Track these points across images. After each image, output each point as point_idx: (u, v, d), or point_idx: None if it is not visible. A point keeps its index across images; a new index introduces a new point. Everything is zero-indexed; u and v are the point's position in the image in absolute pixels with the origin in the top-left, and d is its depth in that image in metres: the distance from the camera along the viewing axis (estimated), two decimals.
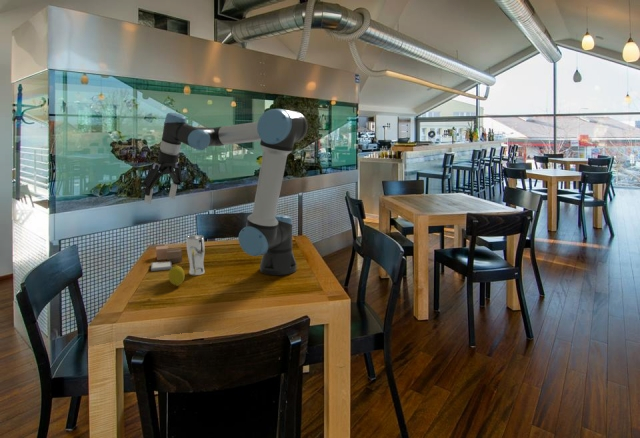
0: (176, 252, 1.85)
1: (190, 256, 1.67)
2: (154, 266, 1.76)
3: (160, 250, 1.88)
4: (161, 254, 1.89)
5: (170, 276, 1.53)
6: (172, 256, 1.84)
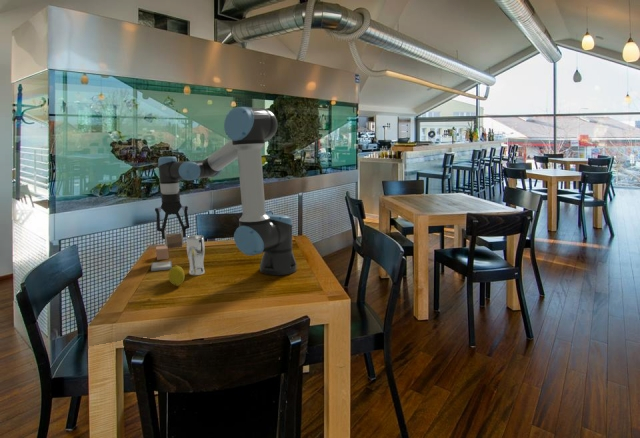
0: (176, 237, 1.83)
1: (190, 256, 1.67)
2: (154, 266, 1.76)
3: (160, 250, 1.88)
4: (161, 254, 1.89)
5: (170, 276, 1.53)
6: (172, 241, 1.83)
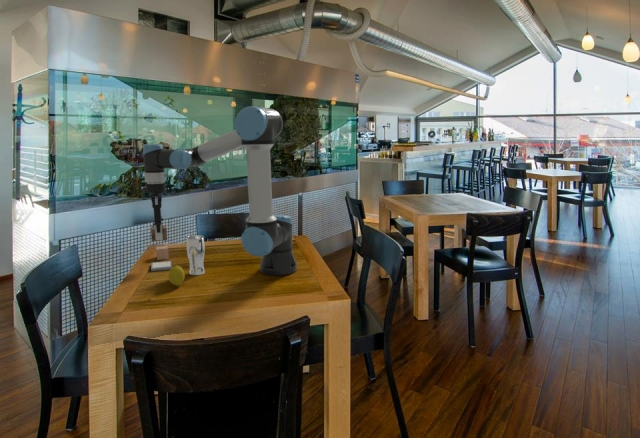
0: (151, 229, 1.74)
1: (190, 256, 1.67)
2: (154, 266, 1.76)
3: (160, 250, 1.88)
4: (161, 254, 1.89)
5: (170, 276, 1.53)
6: None
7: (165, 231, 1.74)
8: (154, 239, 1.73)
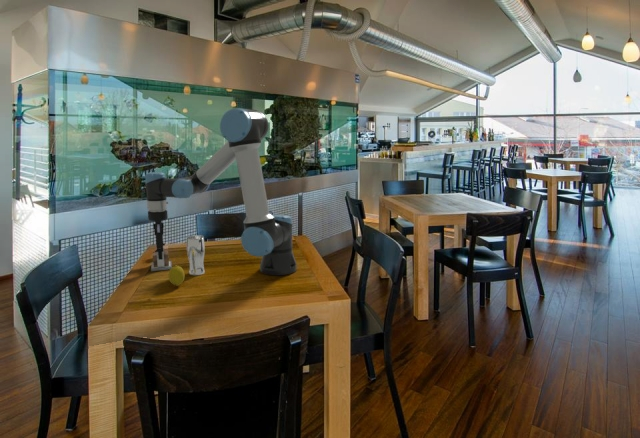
0: (153, 255, 1.76)
1: (190, 256, 1.67)
2: None
3: None
4: None
5: (170, 276, 1.53)
6: None
7: (167, 257, 1.76)
8: (156, 265, 1.75)
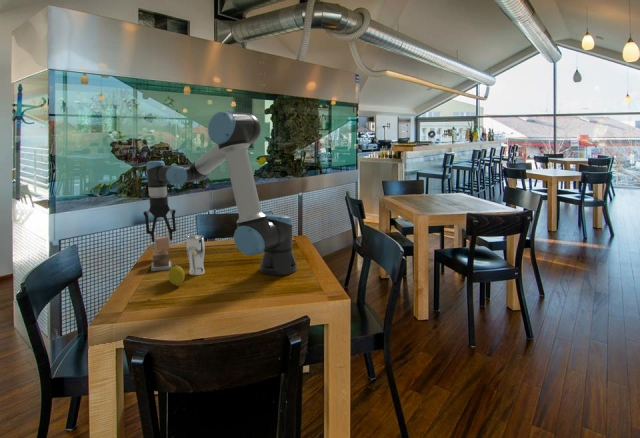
0: (153, 255, 1.76)
1: (190, 256, 1.67)
2: None
3: (160, 240, 1.87)
4: (161, 244, 1.88)
5: (170, 276, 1.53)
6: None
7: (167, 257, 1.76)
8: (156, 265, 1.75)
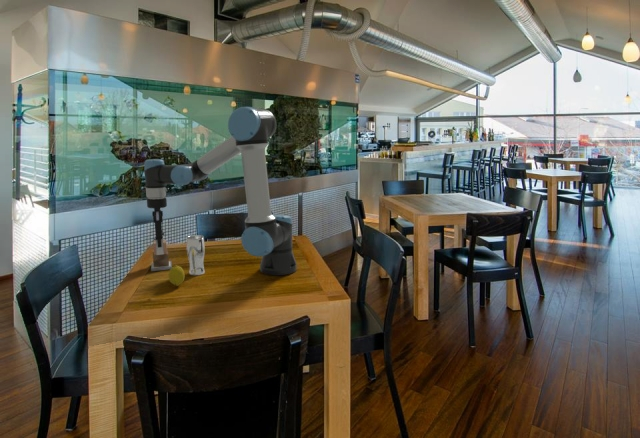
0: (153, 255, 1.76)
1: (190, 256, 1.67)
2: None
3: None
4: None
5: (170, 276, 1.53)
6: None
7: (167, 257, 1.76)
8: (156, 265, 1.75)
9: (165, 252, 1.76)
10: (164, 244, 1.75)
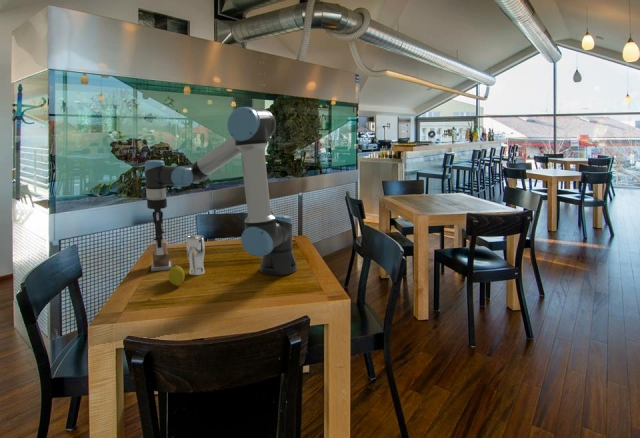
0: (153, 255, 1.75)
1: (190, 256, 1.67)
2: None
3: (153, 242, 1.76)
4: None
5: (170, 276, 1.53)
6: None
7: (167, 257, 1.76)
8: (156, 265, 1.75)
9: (165, 252, 1.75)
10: (164, 244, 1.75)
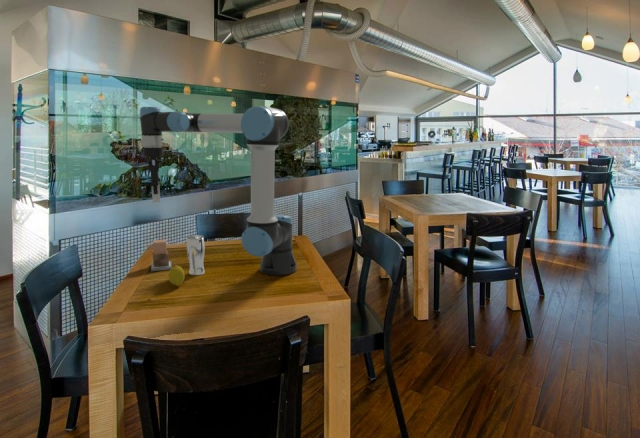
0: (153, 255, 1.76)
1: (190, 256, 1.67)
2: None
3: (153, 242, 1.77)
4: None
5: (170, 276, 1.53)
6: None
7: (167, 257, 1.76)
8: (156, 265, 1.75)
9: (165, 252, 1.76)
10: (164, 244, 1.76)
